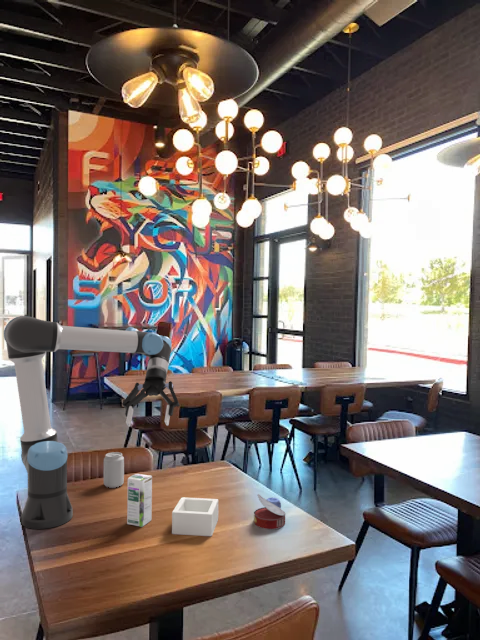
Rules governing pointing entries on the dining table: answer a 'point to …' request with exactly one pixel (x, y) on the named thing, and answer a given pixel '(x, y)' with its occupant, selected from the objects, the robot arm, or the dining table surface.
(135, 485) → the syrup box
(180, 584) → the dining table surface
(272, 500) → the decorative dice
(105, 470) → the can
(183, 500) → the socket
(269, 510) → the canned food
